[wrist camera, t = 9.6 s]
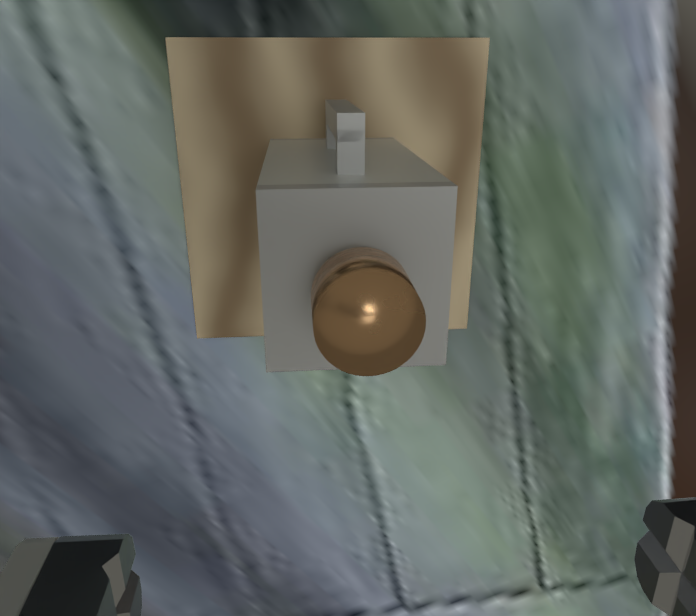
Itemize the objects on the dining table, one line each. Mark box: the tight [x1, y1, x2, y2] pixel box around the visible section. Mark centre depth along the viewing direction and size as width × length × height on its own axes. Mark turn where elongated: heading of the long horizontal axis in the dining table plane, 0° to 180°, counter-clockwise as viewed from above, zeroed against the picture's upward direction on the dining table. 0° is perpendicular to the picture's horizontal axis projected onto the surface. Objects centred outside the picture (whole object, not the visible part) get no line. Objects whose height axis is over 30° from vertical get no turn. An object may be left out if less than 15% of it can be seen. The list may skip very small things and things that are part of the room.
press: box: [256, 100, 458, 372], centre depth 33 cm, size 8×11×17 cm
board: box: [165, 37, 490, 338], centre depth 42 cm, size 20×20×2 cm
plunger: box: [311, 247, 426, 376], centre depth 31 cm, size 6×6×20 cm
